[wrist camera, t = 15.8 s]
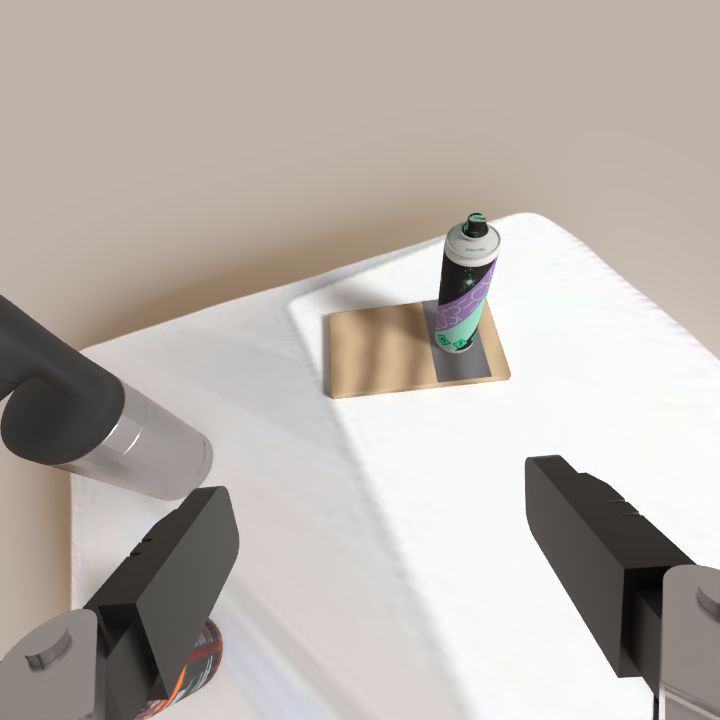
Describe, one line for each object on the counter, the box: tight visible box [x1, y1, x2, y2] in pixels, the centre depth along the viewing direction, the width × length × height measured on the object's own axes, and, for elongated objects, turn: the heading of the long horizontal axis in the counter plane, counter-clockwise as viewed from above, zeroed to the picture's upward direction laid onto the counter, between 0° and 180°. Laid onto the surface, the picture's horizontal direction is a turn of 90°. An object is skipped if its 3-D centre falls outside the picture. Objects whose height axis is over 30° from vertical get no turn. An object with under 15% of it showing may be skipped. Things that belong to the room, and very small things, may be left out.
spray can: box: [435, 213, 501, 353], centre depth 42 cm, size 6×6×20 cm
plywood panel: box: [329, 299, 511, 399], centre depth 52 cm, size 24×14×2 cm, turn 94°
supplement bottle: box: [136, 620, 222, 720], centre depth 32 cm, size 6×6×11 cm
